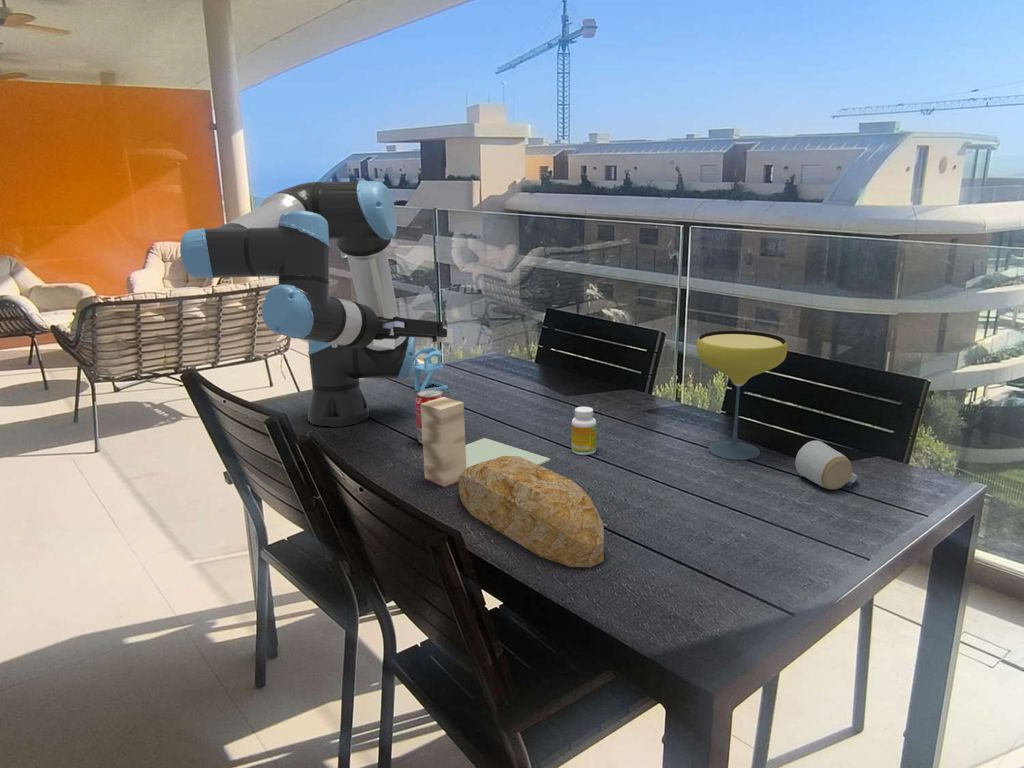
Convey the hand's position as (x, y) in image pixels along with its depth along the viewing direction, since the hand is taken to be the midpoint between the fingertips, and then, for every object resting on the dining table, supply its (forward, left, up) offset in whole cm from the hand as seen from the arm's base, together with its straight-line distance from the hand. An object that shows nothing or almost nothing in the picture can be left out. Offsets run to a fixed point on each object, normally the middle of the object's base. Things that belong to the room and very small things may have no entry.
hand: (421, 339), depth 138 cm
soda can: (-15, +14, -29) cm, 36 cm away
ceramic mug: (+61, +49, -29) cm, 84 cm away
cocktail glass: (+40, +53, -29) cm, 72 cm away
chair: (-49, +42, -29) cm, 71 cm away
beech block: (+3, +2, -29) cm, 29 cm away
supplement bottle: (+15, +32, -29) cm, 46 cm away
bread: (+28, -2, -29) cm, 41 cm away
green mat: (+3, +15, -29) cm, 33 cm away
